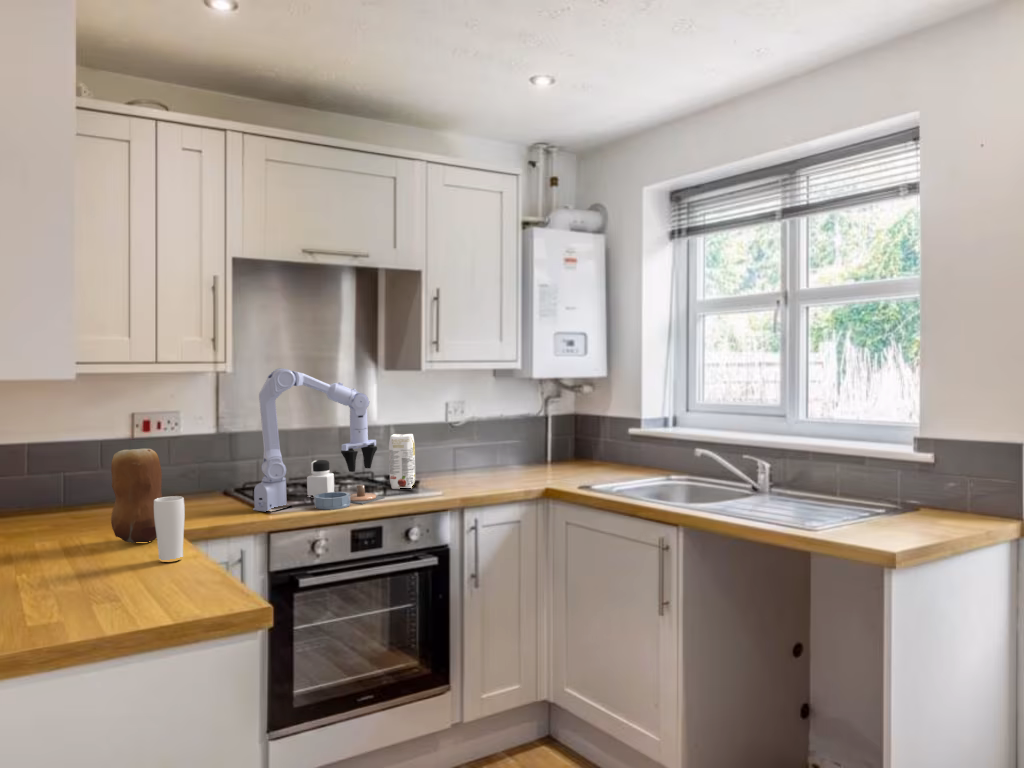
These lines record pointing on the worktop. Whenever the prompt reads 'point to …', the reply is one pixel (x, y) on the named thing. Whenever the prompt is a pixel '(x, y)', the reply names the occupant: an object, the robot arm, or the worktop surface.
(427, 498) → the worktop surface
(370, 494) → the lid
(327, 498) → the bowl
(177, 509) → the drinking glass
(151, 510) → the butternut squash
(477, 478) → the worktop surface
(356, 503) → the mat
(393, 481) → the juice carton
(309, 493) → the medicine bottle
